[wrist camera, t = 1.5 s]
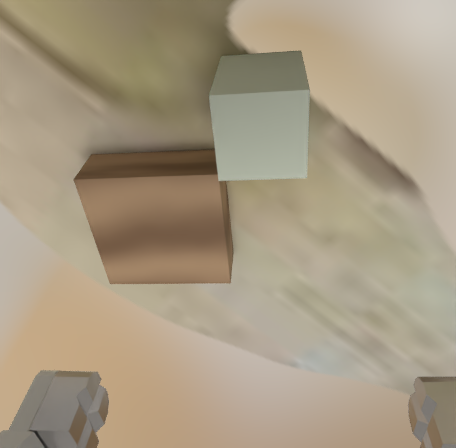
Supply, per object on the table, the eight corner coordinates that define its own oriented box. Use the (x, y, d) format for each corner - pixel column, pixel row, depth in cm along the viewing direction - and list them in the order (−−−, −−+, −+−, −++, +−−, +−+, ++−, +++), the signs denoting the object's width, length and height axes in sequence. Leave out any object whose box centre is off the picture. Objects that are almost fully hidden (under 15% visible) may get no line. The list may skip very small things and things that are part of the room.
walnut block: (92, 152, 32) (73, 179, 29) (223, 146, 31) (218, 174, 28) (123, 252, 38) (110, 283, 35) (233, 250, 37) (230, 283, 34)
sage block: (221, 55, 27) (208, 95, 21) (301, 50, 26) (309, 89, 21) (228, 129, 30) (218, 180, 24) (299, 125, 29) (307, 178, 24)
